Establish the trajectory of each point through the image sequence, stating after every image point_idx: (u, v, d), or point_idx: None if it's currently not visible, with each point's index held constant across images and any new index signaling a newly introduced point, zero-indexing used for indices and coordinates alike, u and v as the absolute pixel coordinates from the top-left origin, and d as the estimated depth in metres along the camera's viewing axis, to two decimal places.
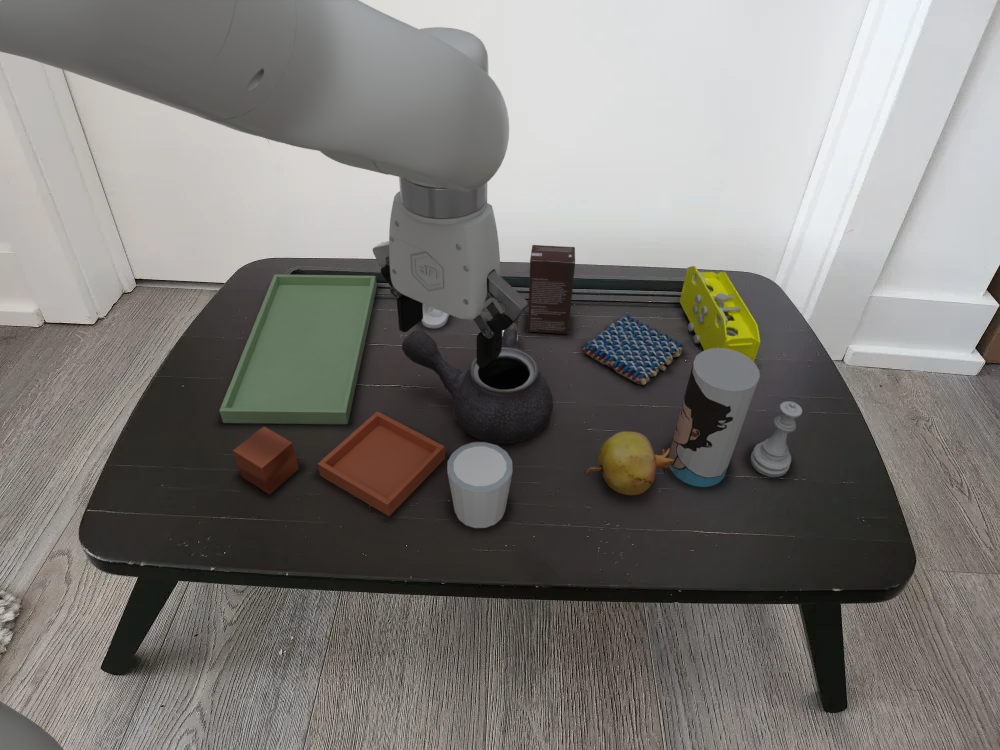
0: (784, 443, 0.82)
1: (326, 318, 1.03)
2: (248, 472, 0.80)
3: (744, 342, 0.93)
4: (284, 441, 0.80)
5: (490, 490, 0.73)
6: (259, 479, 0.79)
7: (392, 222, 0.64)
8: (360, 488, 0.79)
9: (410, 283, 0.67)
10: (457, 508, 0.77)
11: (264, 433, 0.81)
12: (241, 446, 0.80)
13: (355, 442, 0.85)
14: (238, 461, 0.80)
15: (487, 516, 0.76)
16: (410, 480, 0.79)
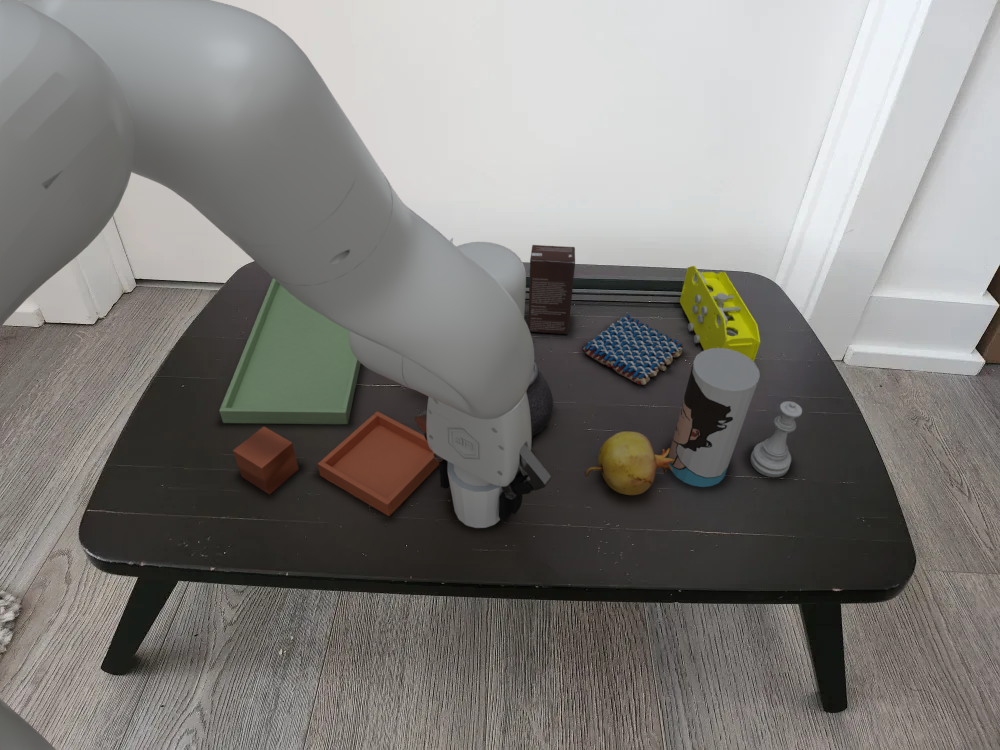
0: (784, 443, 0.82)
1: (326, 318, 1.03)
2: (248, 472, 0.80)
3: (744, 342, 0.93)
4: (284, 441, 0.80)
5: (490, 490, 0.73)
6: (259, 479, 0.79)
7: (431, 398, 0.69)
8: (360, 488, 0.79)
9: (446, 449, 0.71)
10: (457, 508, 0.77)
11: (264, 433, 0.81)
12: (241, 446, 0.80)
13: (355, 442, 0.85)
14: (238, 461, 0.80)
15: (487, 516, 0.76)
16: (410, 480, 0.79)
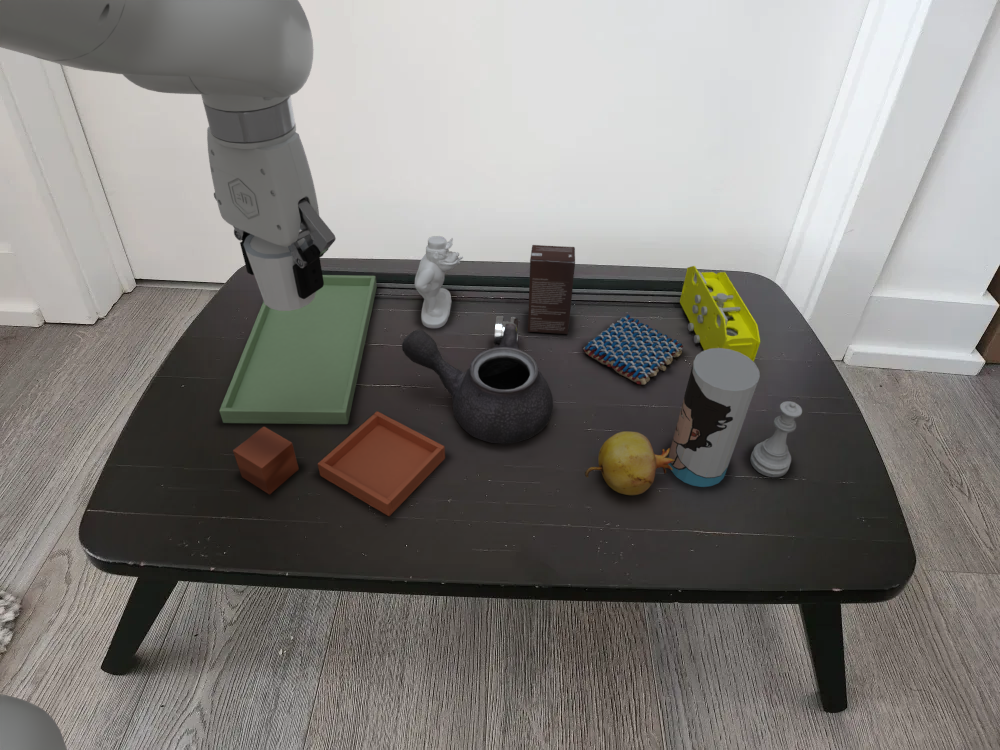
0: (784, 443, 0.82)
1: (326, 318, 1.03)
2: (248, 472, 0.80)
3: (744, 342, 0.93)
4: (284, 441, 0.80)
5: (281, 258, 0.72)
6: (259, 479, 0.79)
7: (209, 151, 0.68)
8: (360, 488, 0.79)
9: (233, 212, 0.71)
10: (259, 288, 0.76)
11: (264, 433, 0.81)
12: (241, 446, 0.80)
13: (355, 442, 0.85)
14: (238, 461, 0.80)
15: (288, 294, 0.75)
16: (410, 480, 0.79)
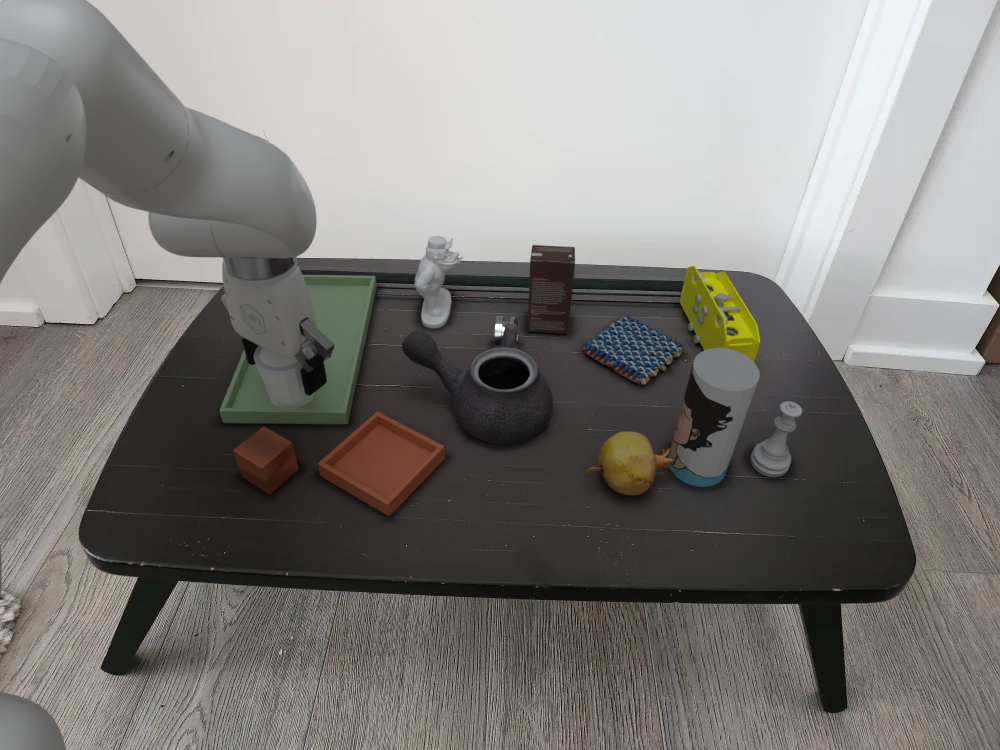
0: (784, 443, 0.82)
1: (326, 318, 1.03)
2: (248, 472, 0.80)
3: (744, 342, 0.93)
4: (284, 441, 0.80)
5: (286, 370, 0.85)
6: (259, 479, 0.79)
7: (223, 280, 0.80)
8: (360, 488, 0.79)
9: (244, 327, 0.83)
10: (267, 391, 0.89)
11: (264, 433, 0.81)
12: (241, 446, 0.80)
13: (355, 442, 0.85)
14: (238, 461, 0.80)
15: (291, 397, 0.88)
16: (410, 480, 0.79)
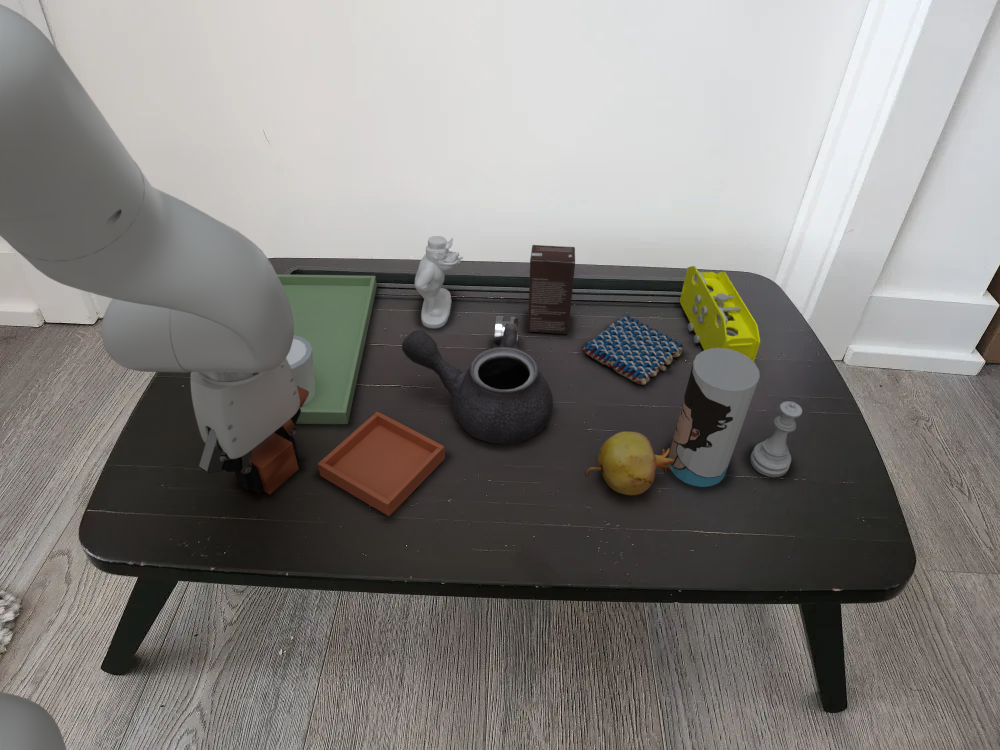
0: (784, 443, 0.82)
1: (326, 318, 1.03)
2: None
3: (744, 342, 0.93)
4: (284, 441, 0.80)
5: None
6: None
7: None
8: (360, 488, 0.79)
9: None
10: None
11: None
12: None
13: (355, 442, 0.85)
14: None
15: None
16: (410, 480, 0.79)
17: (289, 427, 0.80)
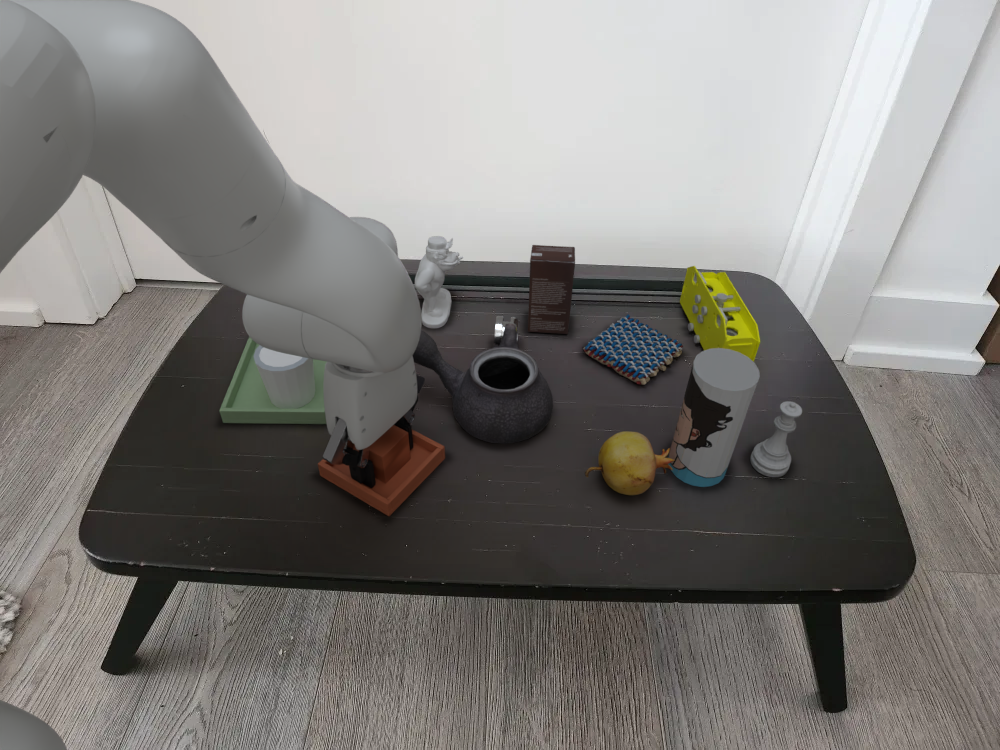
0: (784, 443, 0.82)
1: None
2: None
3: (744, 342, 0.93)
4: (400, 431, 0.81)
5: (286, 370, 0.85)
6: (376, 468, 0.80)
7: None
8: (360, 488, 0.79)
9: None
10: (267, 391, 0.89)
11: None
12: None
13: None
14: None
15: (291, 397, 0.88)
16: (410, 480, 0.79)
17: (409, 414, 0.81)
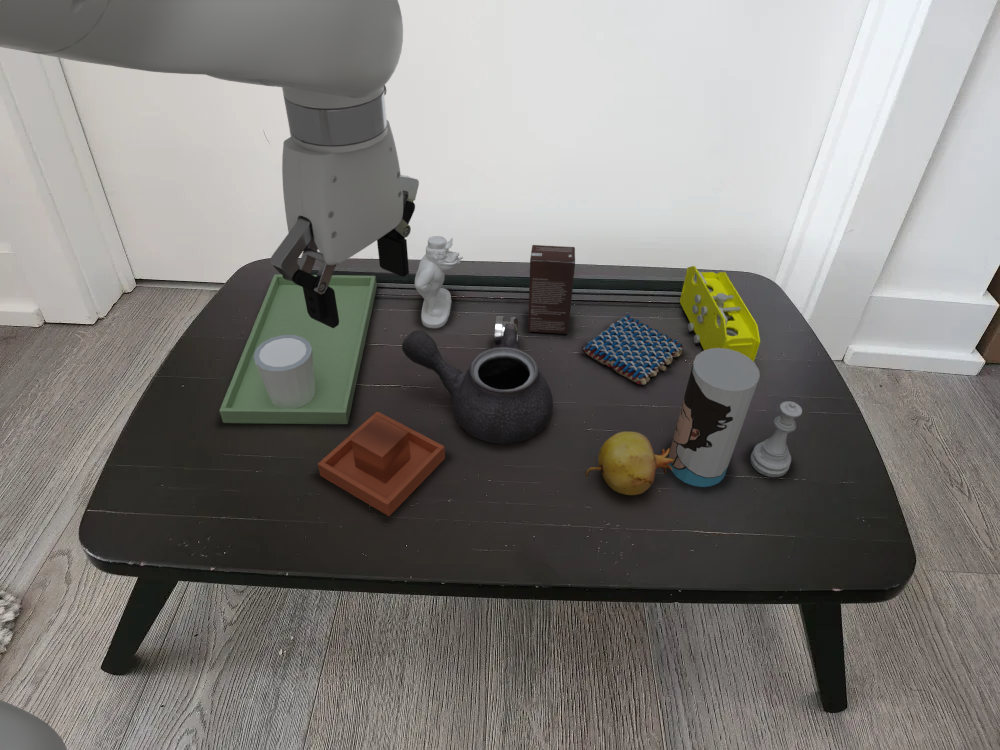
0: (784, 443, 0.82)
1: None
2: (364, 462, 0.81)
3: (744, 342, 0.93)
4: (400, 431, 0.81)
5: (286, 370, 0.85)
6: (376, 468, 0.80)
7: None
8: (360, 488, 0.79)
9: None
10: (267, 391, 0.89)
11: (379, 422, 0.82)
12: (358, 435, 0.80)
13: None
14: (355, 450, 0.81)
15: (291, 397, 0.88)
16: (410, 480, 0.79)
17: (401, 226, 0.66)
